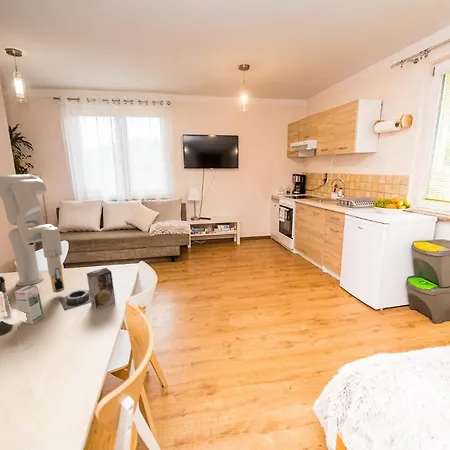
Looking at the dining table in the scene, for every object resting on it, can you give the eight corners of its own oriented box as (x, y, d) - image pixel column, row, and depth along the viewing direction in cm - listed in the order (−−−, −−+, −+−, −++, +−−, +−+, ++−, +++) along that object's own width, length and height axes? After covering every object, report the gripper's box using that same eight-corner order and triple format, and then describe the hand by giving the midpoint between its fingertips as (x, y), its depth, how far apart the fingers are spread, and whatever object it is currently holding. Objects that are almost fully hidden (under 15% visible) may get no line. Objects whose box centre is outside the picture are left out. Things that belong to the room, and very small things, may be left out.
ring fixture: (59, 298, 133) (58, 293, 132) (90, 290, 141) (89, 285, 141) (64, 310, 122) (63, 304, 122) (97, 300, 131) (96, 294, 130)
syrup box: (32, 324, 112) (26, 292, 108) (20, 323, 113) (14, 291, 110) (44, 316, 117) (38, 285, 114) (32, 315, 118) (26, 285, 115)
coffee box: (110, 298, 132) (106, 267, 129) (115, 302, 128) (112, 270, 124) (90, 305, 126) (86, 272, 123) (95, 310, 122) (91, 276, 118)
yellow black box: (52, 289, 136) (49, 274, 134) (63, 286, 139) (61, 271, 137) (53, 293, 132) (51, 277, 130) (65, 290, 135) (63, 274, 133)
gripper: (41, 249, 135) (46, 282, 139) (46, 259, 122) (52, 295, 126) (58, 246, 140) (63, 279, 144) (65, 255, 127) (70, 290, 131)
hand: (58, 286), depth 135 cm, fingers closed on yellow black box, 5 cm apart
